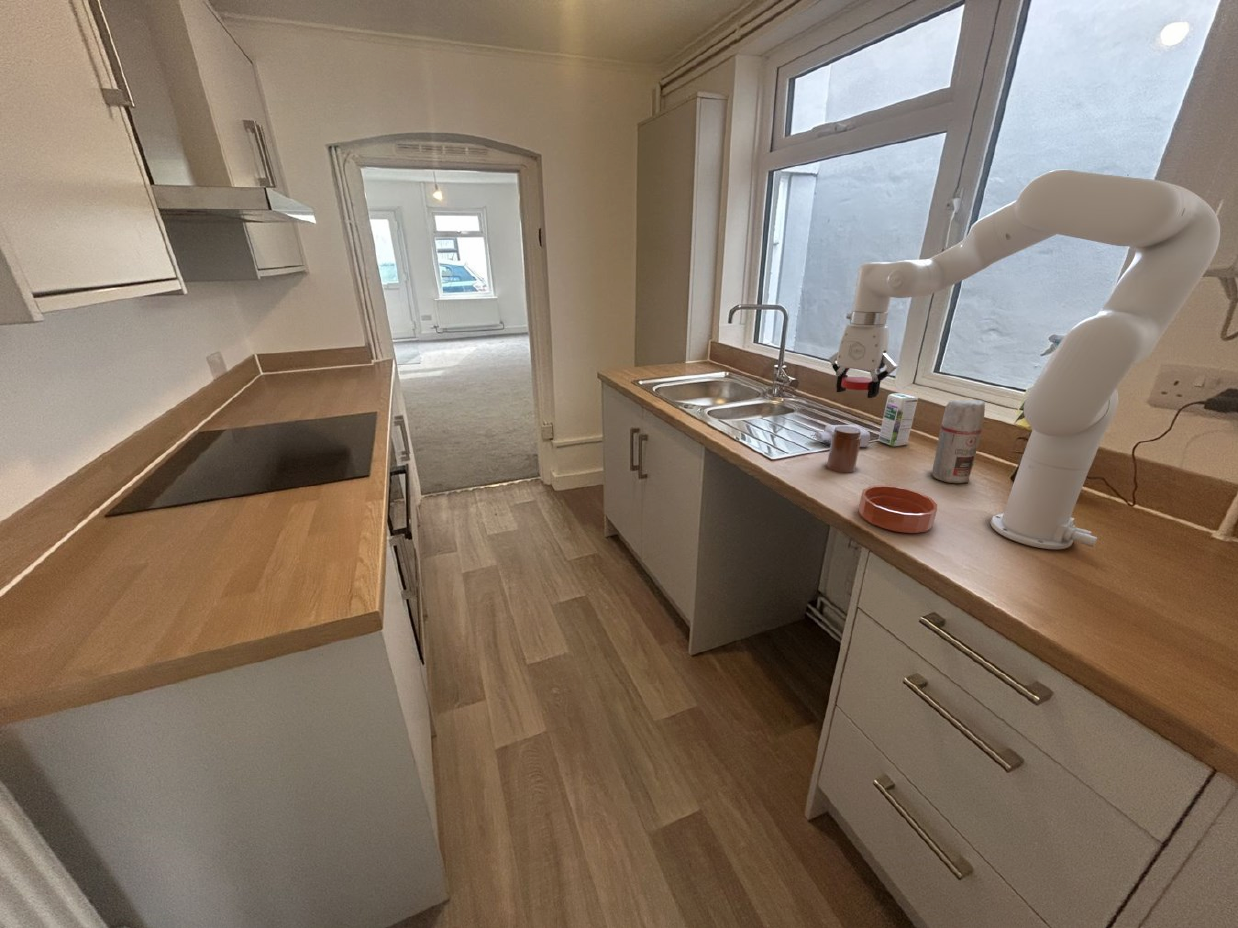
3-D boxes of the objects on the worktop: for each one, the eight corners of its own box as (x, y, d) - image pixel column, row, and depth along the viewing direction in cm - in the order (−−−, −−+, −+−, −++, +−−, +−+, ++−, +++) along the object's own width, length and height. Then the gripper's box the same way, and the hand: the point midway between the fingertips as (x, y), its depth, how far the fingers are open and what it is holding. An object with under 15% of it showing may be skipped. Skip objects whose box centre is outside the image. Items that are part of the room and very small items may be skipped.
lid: (844, 382, 123) (845, 375, 122) (875, 385, 119) (877, 378, 118) (838, 388, 117) (839, 380, 116) (870, 391, 113) (872, 383, 112)
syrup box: (877, 440, 146) (886, 394, 140) (892, 438, 147) (902, 392, 142) (892, 447, 141) (903, 398, 135) (908, 444, 142) (919, 397, 137)
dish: (943, 521, 100) (949, 502, 98) (912, 542, 92) (918, 521, 90) (878, 498, 110) (882, 480, 108) (845, 515, 102) (849, 496, 101)
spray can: (933, 482, 118) (954, 402, 110) (925, 469, 125) (944, 394, 117) (973, 486, 115) (997, 405, 108) (963, 473, 122) (985, 397, 115)
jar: (859, 467, 126) (866, 429, 122) (848, 475, 122) (855, 435, 118) (833, 460, 131) (840, 423, 127) (822, 467, 127) (828, 429, 123)
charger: (804, 439, 148) (852, 438, 148) (817, 449, 139) (867, 448, 140) (806, 424, 146) (854, 423, 147) (819, 434, 137) (870, 432, 138)
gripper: (825, 318, 117) (815, 390, 123) (898, 323, 103) (883, 403, 110) (842, 316, 121) (832, 386, 127) (915, 320, 107) (899, 398, 114)
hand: (856, 393), depth 118 cm, fingers closed on lid, 7 cm apart
